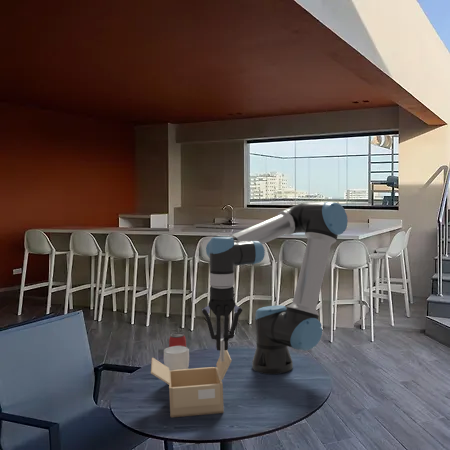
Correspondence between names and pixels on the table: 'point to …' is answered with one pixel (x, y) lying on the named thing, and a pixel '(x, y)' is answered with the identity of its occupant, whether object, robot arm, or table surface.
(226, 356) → the flap
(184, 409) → the carton
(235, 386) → the table surface
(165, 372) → the flap
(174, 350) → the cup
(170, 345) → the beer can
